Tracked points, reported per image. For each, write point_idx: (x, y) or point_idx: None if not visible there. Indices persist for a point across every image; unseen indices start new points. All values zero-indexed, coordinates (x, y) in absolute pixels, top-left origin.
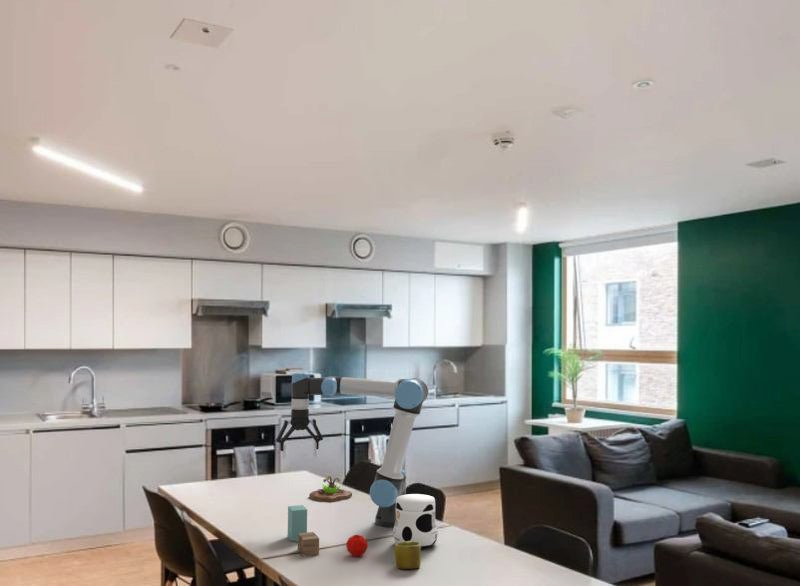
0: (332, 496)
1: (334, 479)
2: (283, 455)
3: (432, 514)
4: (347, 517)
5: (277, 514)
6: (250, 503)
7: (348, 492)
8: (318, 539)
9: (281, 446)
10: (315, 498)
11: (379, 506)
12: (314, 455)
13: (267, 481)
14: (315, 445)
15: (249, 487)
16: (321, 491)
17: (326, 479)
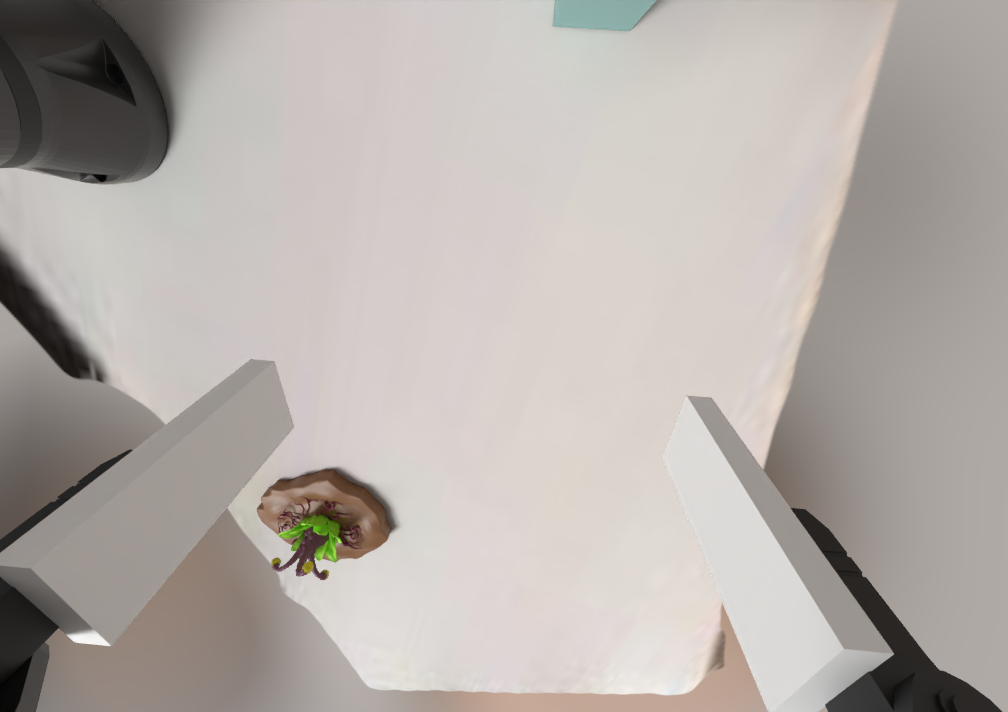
0: (321, 489)
1: (288, 566)
2: (731, 441)
3: None
4: (293, 272)
5: (536, 408)
6: (568, 536)
7: (266, 511)
8: None
9: (869, 599)
10: (376, 506)
11: (56, 91)
12: (259, 383)
13: (462, 659)
14: (96, 495)
15: (517, 639)
16: (349, 534)
17: (315, 575)
